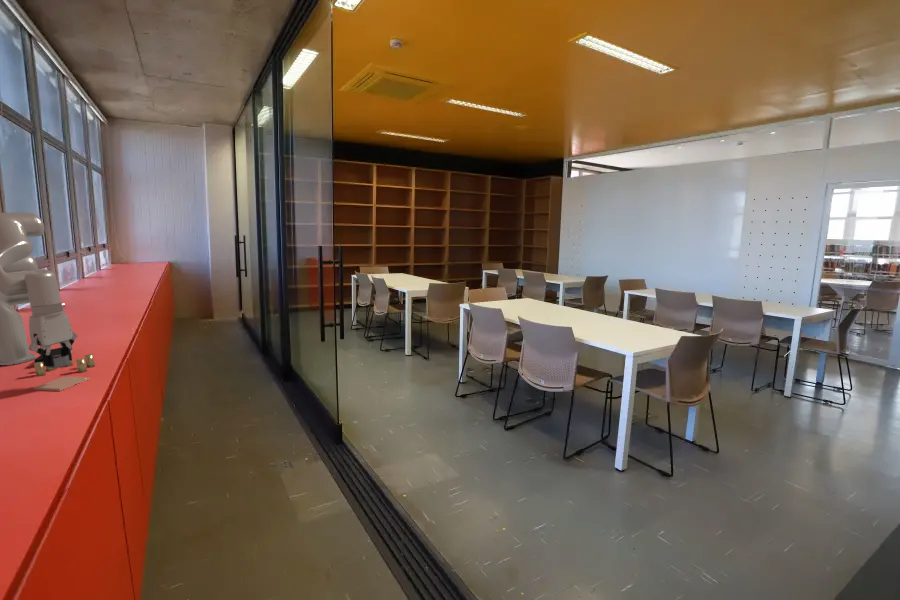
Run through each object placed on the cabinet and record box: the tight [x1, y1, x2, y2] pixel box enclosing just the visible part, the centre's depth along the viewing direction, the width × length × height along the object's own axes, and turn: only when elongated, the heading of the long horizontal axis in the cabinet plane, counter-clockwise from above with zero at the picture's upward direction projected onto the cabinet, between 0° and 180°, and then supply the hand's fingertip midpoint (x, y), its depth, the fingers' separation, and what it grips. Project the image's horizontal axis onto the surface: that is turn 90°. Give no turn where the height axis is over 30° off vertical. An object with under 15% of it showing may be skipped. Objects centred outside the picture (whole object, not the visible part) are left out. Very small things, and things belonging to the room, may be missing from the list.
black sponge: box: [33, 346, 73, 364], centre depth 175 cm, size 16×8×4 cm, turn 27°
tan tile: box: [34, 375, 91, 392], centre depth 148 cm, size 10×10×1 cm
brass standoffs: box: [33, 353, 96, 377], centre depth 162 cm, size 16×12×4 cm
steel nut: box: [48, 354, 70, 369], centre depth 147 cm, size 6×5×3 cm
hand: (58, 362), depth 147 cm, fingers closed on steel nut, 5 cm apart
